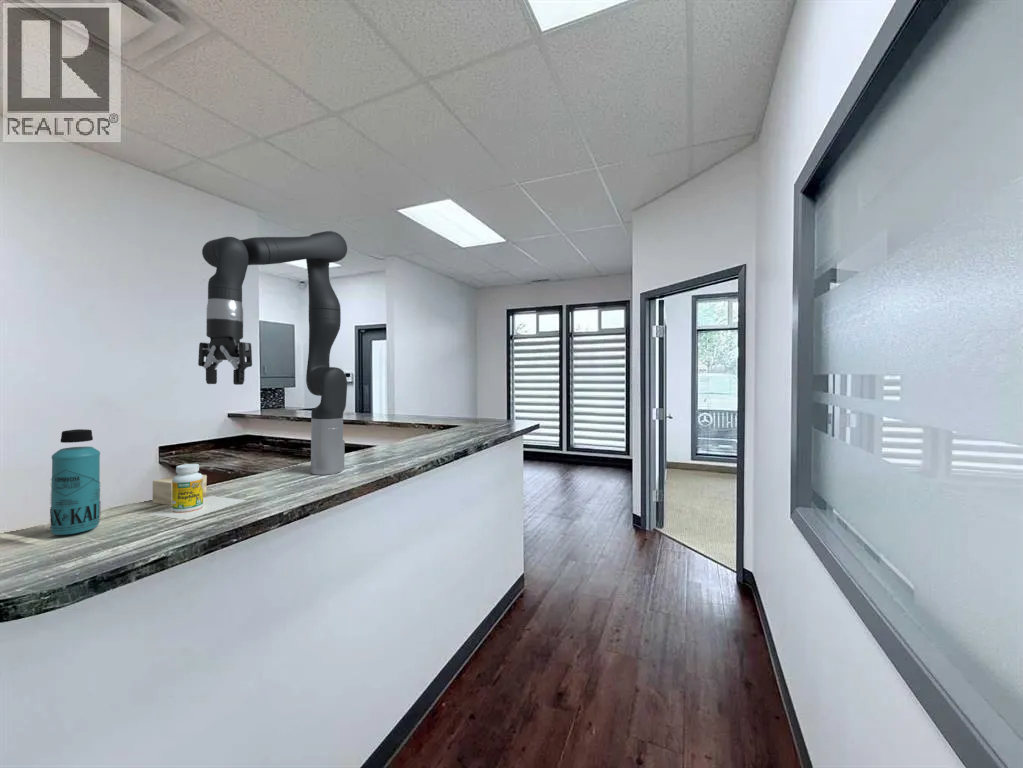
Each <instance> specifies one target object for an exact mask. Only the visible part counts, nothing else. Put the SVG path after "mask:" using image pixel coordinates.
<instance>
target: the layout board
mask: <svg viewBox="0 0 1023 768" xmlns="http://www.w3.org/2000/svg"><path fill="white" fill-rule="evenodd" d="M247 501H248V499H247V500H246V499H240V498H232V497H231V498H230V497H221V496H214V495H210V496H207V497H206V496H205V497H203V506H202V507H201V508H199V509H196V510H193V511H188V512H175V511H173V509H172V506H171V507H169V508H165V509H161V510H159V511H154V512H151V513H148V515H149V516H157V517H163V518H164V517H165V518H171V519H180V520H186V521H188V520H191V519H194V518H198V517H201V516H204V515H207V514H210V513H213V512H217V511H219V510H222V509H224V508H227V507H231V506H235V505H237V504H240V503H243V502H247Z"/></svg>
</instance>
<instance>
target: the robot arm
mask: <svg viewBox="0 0 1023 768" xmlns="http://www.w3.org/2000/svg"><path fill="white" fill-rule="evenodd" d="M347 252H348V246H347V242H346V240H345V238H344V237H343V236H342V235H341V234H339V233H338V232H336V231H333V230H327V231H320V232H316V233H312V234H309V235H306V236H263V237H262V236H261V237H260V236H258V237H257V236H255V237H248V238H246V239H244V238H243V239H239V238H237V237H235V236H224V237H220V238H215V239H212V240H209V241H207V242H205V243H204V245H203V247H202V250H201V255H202V257H203V259H204V260H205V262H206V263H207V264H208V265H210V266H211V267H212V268H213V267H214V268H216V271H215V272H214V274H213V275H212V276H211V277H210V278H208V283H207V305H206V337H207V338H209V339H210V342H203V341H202V342H199V344H198V360H197V361H198V363H197V365H198V366H199V367H203V368H204V369H205V382H206V384H207V385H216V384H217V382H218V369H217V368H218V366H219V364H220V363H222V362H223V361H228V363H230V364H231V366H232V367H233V380H232V381H233V385H238V386H240V385H241V386H242V385H243V384H244V382H245V374H246V373H245V370H246V369H247V368H250V367H252V366H253V358H252V357H253V356H252V355H253V352H252V343H251V342H243V341H241V340H242V339H244V307H243V284H244V280H245V278H246V274H247V270H248V266H257V265H258V266H261V265H262V266H265V265H266V266H267V265H273V264H274V265H276V264H284V263H285V264H286V263H290V262H295V261H296V262H297V261H302V260H305V261H306V268H307V279H308V280H307V281H308V282H307V284H308V355H307V358H308V359H307V367H306V375H305V381H306V382H305V383H306V388H307V389H308V391H309V393H311V394H312V395H314V396H317V397H320V403H319V404H318V406H316V407H314V408H313V409H311V415H310V416H311V417H310V418H311V421H310V422H311V424H310V425H311V428H310V433H311V434H310V439H311V440H310V473H311V474H312V475H320V476H321V475H322V476H324V475H325V476H326V475H333V474H339V473H341V472H343V470H345V448H346V447H345V446H346V445H345V439H344V412H345V410H346V406H347V396H348V394H347V393H348V380H347V379H348V378H347V375H346V373H345V372H344V370H343V369H341V368H339V367H333V366H330V356H331V351H332V346H333V345H334V342H335V341H336V338H337V336H338V334H339V331H340V330H341V329H340V328H341V322H342V321H341V320H342V319H341V317H342V316H341V314H342V313H341V303H340V301H339V299H338V297H337V293H336V292H335V290H334V288H333V286H332V284H331V280H330V264H331V263H335V262H336V263H337V262H339V261H342V260H343V259H344V258H345V257H346V256H347ZM338 472H339V473H338Z"/></svg>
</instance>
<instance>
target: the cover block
mask: <svg viewBox="0 0 1023 768" xmlns="http://www.w3.org/2000/svg"><path fill="white" fill-rule="evenodd" d="M202 475H203V498H205V497H206V496H207V495H208V493H207V490H208V489H207V486H208V485H207V482H208V480H207V478H208V476H207V474H202ZM175 476H176V475H174V476H169V477H165V478H164V477H163V478H159V479H154V480H152V503H155V504H161V505H166V506H172V479H173V478H174V477H175ZM207 497H208V496H207Z"/></svg>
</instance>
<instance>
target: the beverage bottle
mask: <svg viewBox="0 0 1023 768" xmlns="http://www.w3.org/2000/svg"><path fill="white" fill-rule="evenodd" d="M93 439H94V438H93V431H92V429H83V428H81V429H69V430H63V431H62V432H61V438H60V443H64V444H65V443H66V444H69V443H83V442H85V443H86V442H90V441H93ZM100 458H101V451H100V450H98V449H97V448H95V447H93V446H72V447H71V446H70V447H64V448H60V449H59V450H57V451H56V452H54V453H53V454H52V455H51V479H50V481H51V482H50V483H49V484H50V487H51V490H50V494H49V499H50V503H49V505H50V508H49V517H50V521H49V529H50V531H51V534H52V535H57V536H59V535H60V536H62V535H73V534H78V533H81V532H86V531H90V530H92V529H96V527H98V526H99V523H100V521H101V515H100V512H101V503H102V502H101V500H100V498H101V496H102V494H101V491H102V490H101V481H100V477H101V470H100V469H101V468H100V467H101V466H100V465H101V464H100V463H101V462H100V460H101V459H100Z"/></svg>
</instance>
